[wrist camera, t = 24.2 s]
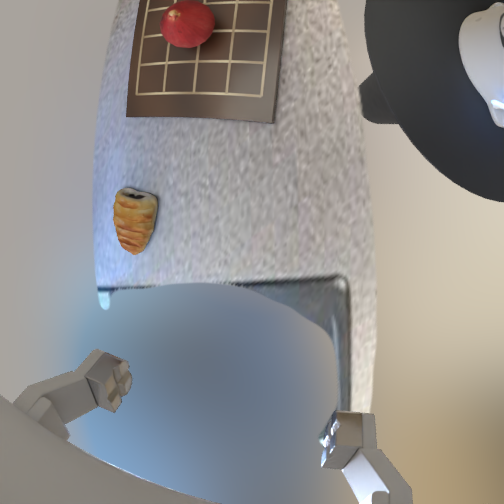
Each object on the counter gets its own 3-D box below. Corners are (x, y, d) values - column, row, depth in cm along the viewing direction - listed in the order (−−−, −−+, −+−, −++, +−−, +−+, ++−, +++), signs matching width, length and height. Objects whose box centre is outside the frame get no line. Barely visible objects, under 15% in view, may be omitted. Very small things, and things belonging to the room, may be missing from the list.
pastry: (155, 255, 44) (142, 266, 40) (118, 242, 45) (104, 252, 41) (161, 194, 40) (147, 201, 36) (121, 183, 41) (105, 190, 37)
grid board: (290, -36, 24) (289, -42, 23) (274, 123, 33) (271, 123, 32) (151, -25, 27) (145, -29, 26) (132, 116, 36) (125, 117, 35)
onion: (171, 50, 30) (136, 37, 23) (185, 9, 28) (153, -12, 21) (215, 56, 30) (187, 41, 23) (229, 14, 27) (206, -10, 20)
